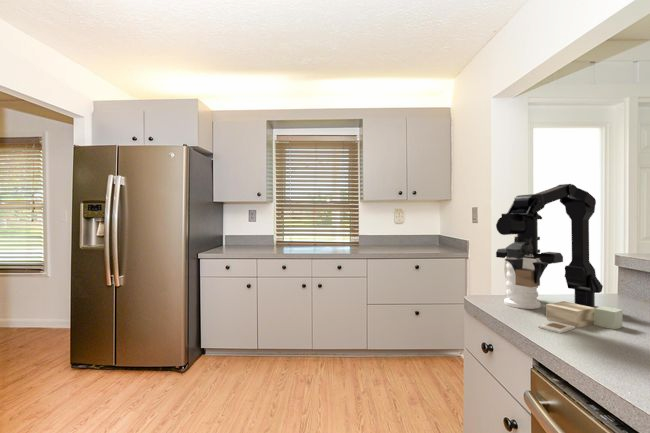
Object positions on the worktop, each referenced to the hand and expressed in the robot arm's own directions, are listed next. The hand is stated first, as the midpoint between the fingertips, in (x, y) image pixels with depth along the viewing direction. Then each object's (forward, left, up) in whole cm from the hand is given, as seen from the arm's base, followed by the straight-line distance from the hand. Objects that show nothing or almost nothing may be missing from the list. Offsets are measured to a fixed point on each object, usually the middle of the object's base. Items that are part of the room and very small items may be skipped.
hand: (527, 281), depth 114 cm
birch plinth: (-6, +10, -12) cm, 16 cm away
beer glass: (-23, -18, -11) cm, 32 cm away
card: (+4, +11, -11) cm, 16 cm away
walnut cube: (0, 0, -1) cm, 1 cm away
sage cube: (-11, +18, -11) cm, 24 cm away
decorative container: (-13, -9, -12) cm, 20 cm away
